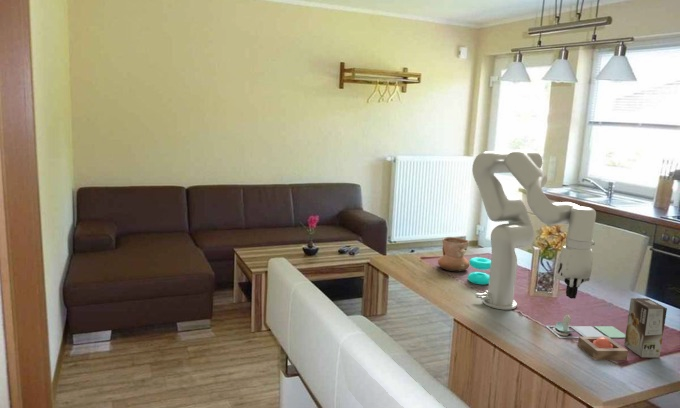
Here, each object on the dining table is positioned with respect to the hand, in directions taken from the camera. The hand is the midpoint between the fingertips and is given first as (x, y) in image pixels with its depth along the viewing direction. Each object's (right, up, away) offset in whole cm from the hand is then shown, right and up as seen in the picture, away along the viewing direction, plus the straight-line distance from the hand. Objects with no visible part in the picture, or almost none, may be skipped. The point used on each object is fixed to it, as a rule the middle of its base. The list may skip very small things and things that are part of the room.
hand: (570, 297), depth 173 cm
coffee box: (+18, -16, -9) cm, 26 cm away
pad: (+16, -13, +4) cm, 21 cm away
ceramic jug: (-24, 0, +71) cm, 75 cm away
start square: (-1, -12, +3) cm, 13 cm away
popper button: (+4, -15, -12) cm, 19 cm away
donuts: (-16, -3, +53) cm, 56 cm away
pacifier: (-2, -13, +3) cm, 13 cm away
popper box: (+4, -15, -12) cm, 20 cm away
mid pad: (+8, -13, +3) cm, 15 cm away
